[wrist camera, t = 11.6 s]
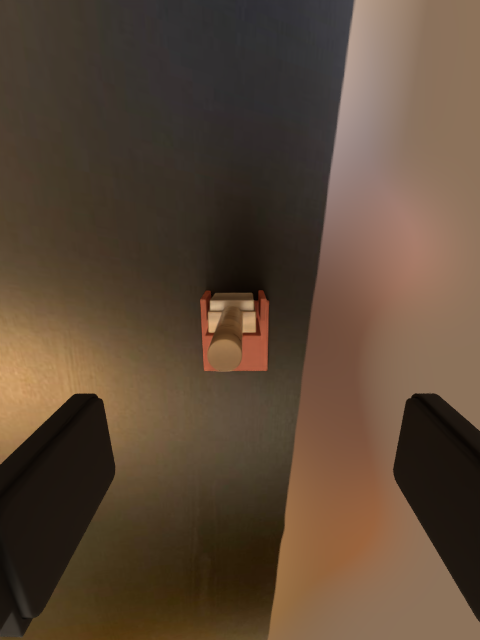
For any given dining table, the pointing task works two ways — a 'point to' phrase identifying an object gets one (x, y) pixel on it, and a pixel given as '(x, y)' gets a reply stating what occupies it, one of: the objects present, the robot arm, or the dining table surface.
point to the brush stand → (251, 341)
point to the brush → (229, 328)
